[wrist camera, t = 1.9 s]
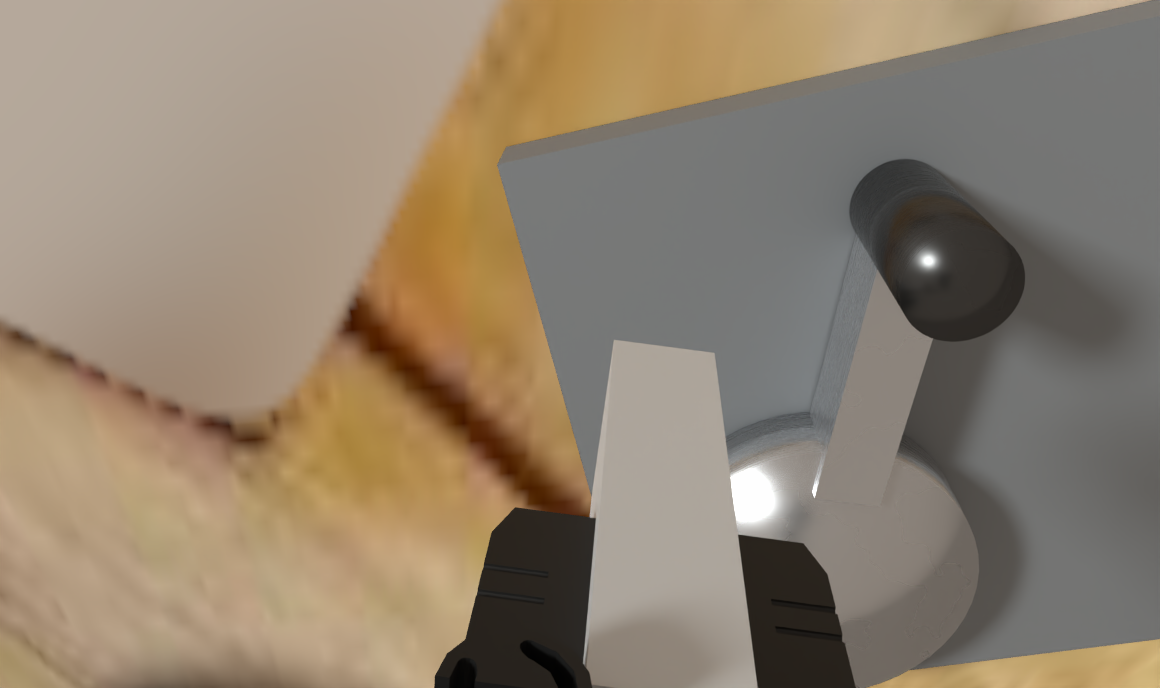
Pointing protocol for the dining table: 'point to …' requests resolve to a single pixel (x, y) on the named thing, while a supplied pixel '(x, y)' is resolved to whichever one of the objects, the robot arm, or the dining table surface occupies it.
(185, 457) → the dining table surface
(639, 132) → the stand
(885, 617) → the cam lever
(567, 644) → the robot arm
